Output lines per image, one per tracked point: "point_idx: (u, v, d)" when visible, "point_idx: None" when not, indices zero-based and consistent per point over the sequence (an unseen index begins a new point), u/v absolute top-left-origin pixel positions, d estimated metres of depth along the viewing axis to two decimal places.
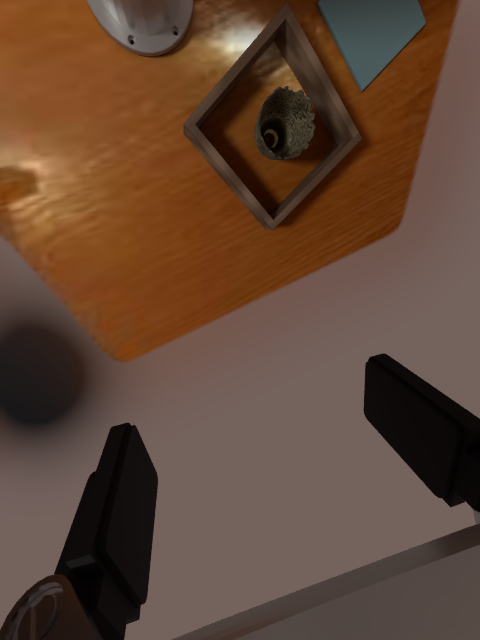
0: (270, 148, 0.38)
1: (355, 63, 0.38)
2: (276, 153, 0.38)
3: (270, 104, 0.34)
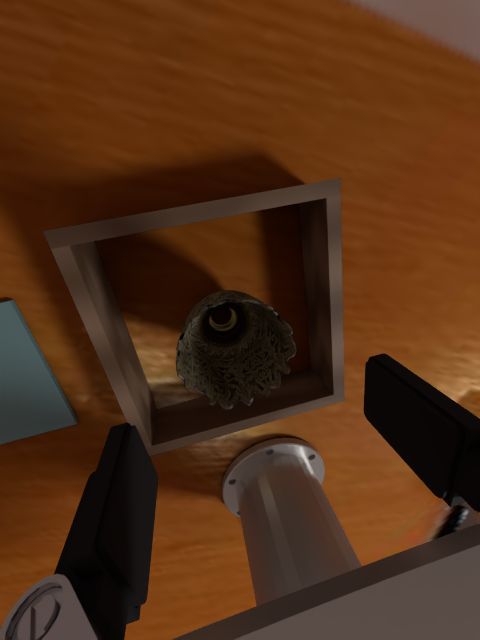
0: (236, 309, 0.21)
1: (20, 343, 0.20)
2: None
3: (224, 374, 0.20)
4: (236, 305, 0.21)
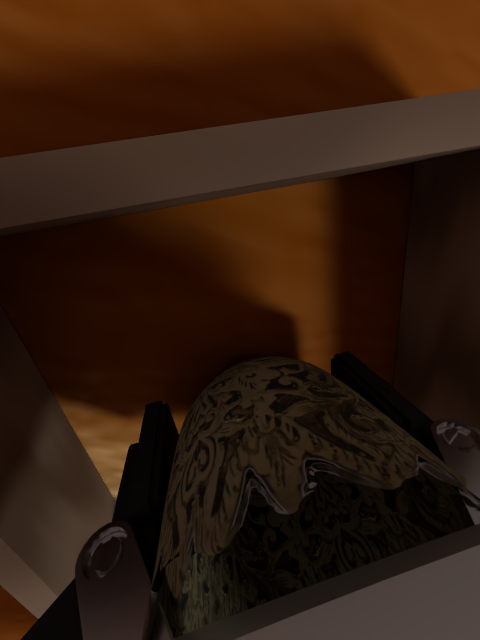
0: None
1: None
2: None
3: (262, 531, 0.09)
4: None
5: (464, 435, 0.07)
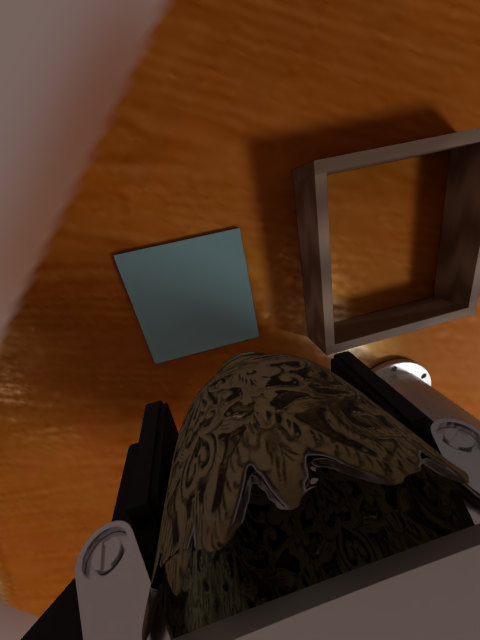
0: None
1: (238, 264, 0.26)
2: None
3: (263, 530, 0.09)
4: None
5: (464, 435, 0.07)
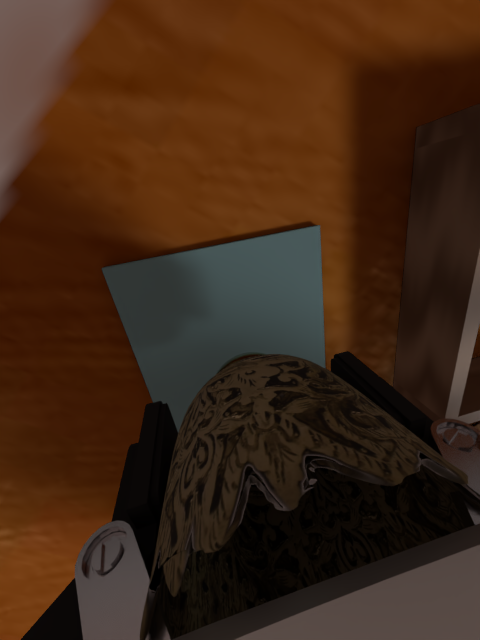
0: None
1: (310, 285, 0.16)
2: None
3: (262, 530, 0.09)
4: None
5: (464, 435, 0.07)
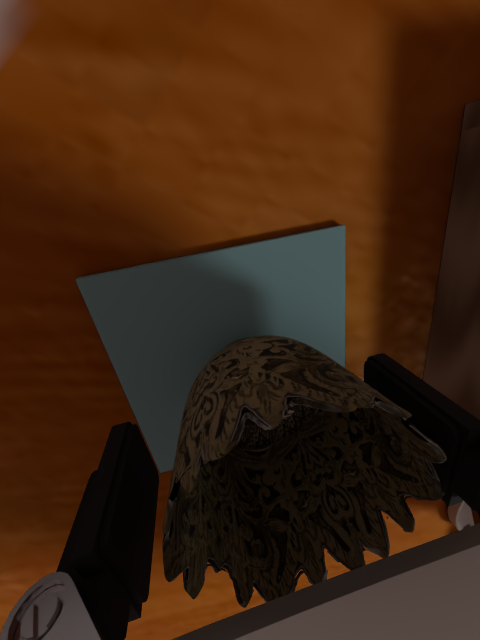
0: None
1: (331, 296, 0.13)
2: None
3: (258, 489, 0.11)
4: None
5: None
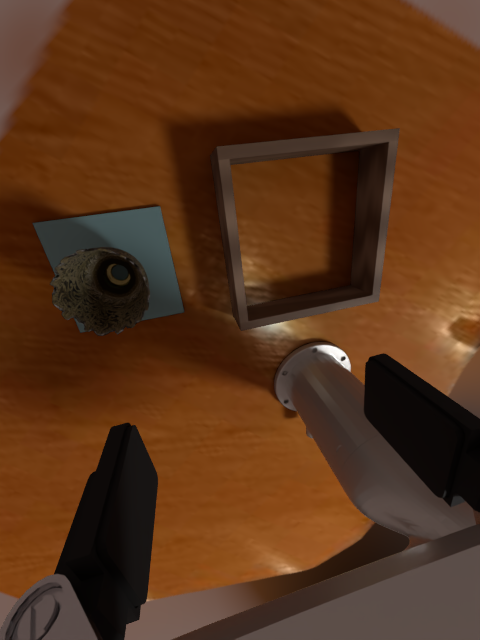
0: (126, 266, 0.26)
1: (160, 241, 0.28)
2: (120, 256, 0.26)
3: (110, 315, 0.25)
4: (125, 262, 0.26)
5: None
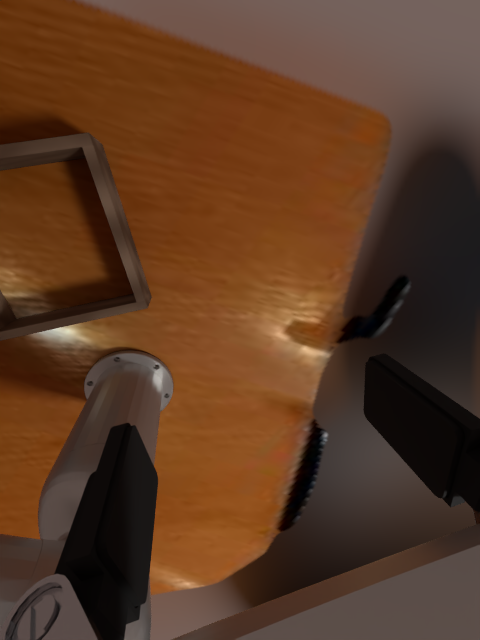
0: None
1: None
2: None
3: None
4: None
5: None
